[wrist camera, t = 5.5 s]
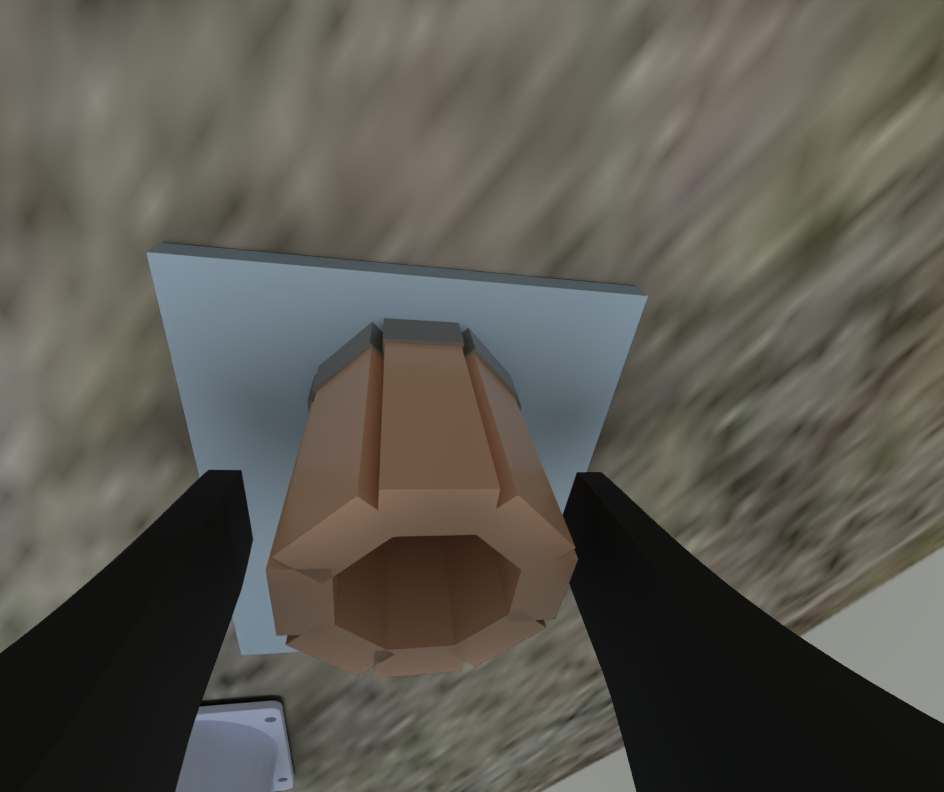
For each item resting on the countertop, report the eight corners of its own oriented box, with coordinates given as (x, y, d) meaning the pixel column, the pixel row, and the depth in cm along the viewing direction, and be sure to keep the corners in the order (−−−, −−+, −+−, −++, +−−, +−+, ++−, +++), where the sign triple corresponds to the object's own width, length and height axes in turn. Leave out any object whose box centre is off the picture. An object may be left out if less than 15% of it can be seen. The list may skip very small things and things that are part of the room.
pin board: (524, 619, 21) (551, 725, 18) (247, 635, 19) (212, 760, 15) (634, 286, 13) (727, 357, 9) (162, 242, 11) (42, 314, 7)
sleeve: (492, 478, 15) (541, 666, 10) (320, 479, 14) (279, 688, 9) (523, 326, 12) (612, 483, 7) (310, 313, 11) (243, 484, 6)
